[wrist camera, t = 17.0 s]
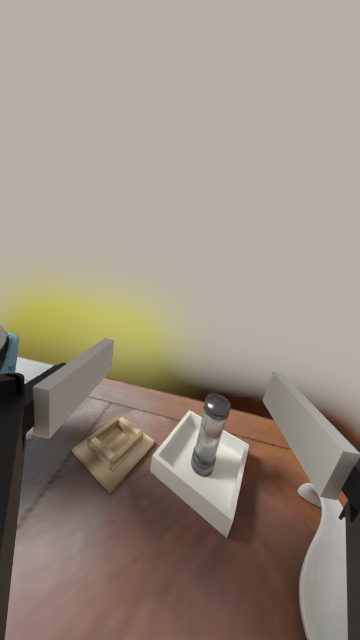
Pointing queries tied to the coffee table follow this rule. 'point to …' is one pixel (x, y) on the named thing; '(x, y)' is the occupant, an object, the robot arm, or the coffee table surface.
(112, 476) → the socket block
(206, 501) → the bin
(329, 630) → the spoon rest
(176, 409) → the coffee table surface
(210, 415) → the capped clear cylinder
